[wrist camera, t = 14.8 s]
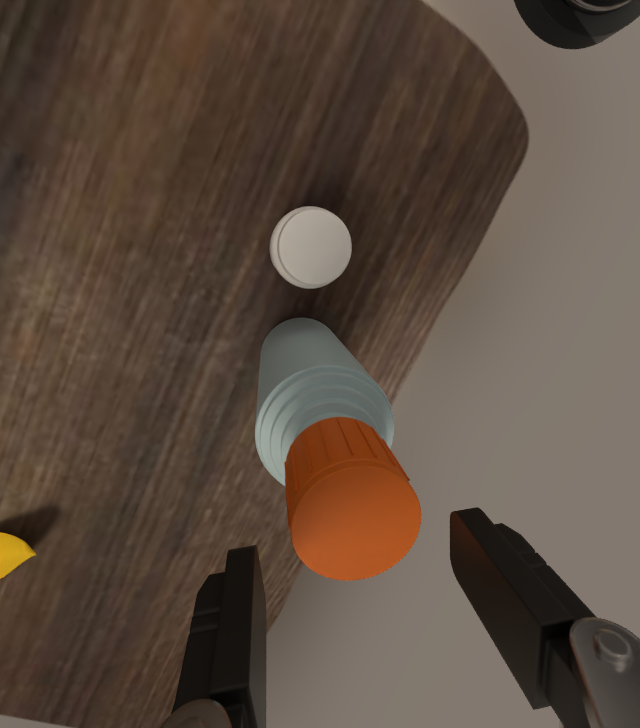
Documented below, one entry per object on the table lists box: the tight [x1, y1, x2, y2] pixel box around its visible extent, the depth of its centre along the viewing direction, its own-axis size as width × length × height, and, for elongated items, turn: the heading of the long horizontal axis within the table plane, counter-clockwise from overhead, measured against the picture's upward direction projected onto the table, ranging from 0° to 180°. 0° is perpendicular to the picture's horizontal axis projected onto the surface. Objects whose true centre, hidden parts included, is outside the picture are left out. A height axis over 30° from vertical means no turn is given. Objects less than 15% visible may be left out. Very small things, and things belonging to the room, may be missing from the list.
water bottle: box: [255, 318, 394, 486], centre depth 21 cm, size 6×6×20 cm
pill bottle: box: [270, 206, 352, 289], centre depth 25 cm, size 5×5×8 cm
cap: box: [284, 417, 421, 580], centre depth 13 cm, size 4×4×4 cm
